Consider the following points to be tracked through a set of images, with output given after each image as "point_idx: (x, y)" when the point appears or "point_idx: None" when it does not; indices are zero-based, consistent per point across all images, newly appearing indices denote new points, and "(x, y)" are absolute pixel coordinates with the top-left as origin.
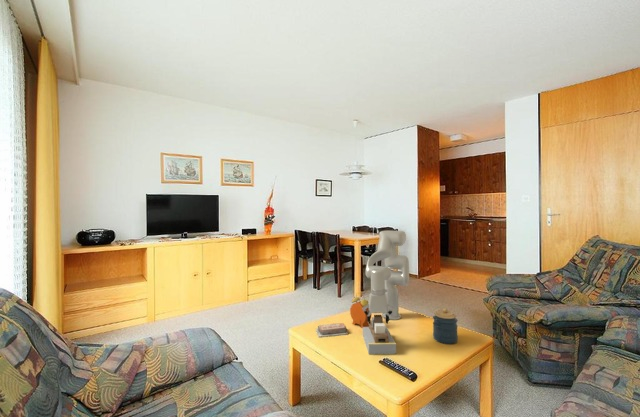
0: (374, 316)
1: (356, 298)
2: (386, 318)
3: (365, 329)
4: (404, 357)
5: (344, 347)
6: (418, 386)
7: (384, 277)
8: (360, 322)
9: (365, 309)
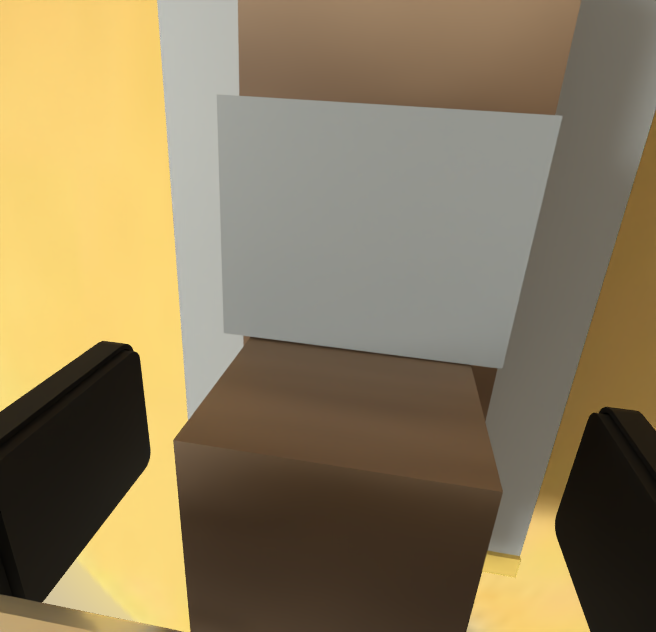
0: (191, 529)
1: None
2: (610, 621)
3: (197, 58)
4: (543, 547)
5: (11, 295)
6: None
7: None
8: None
9: None
